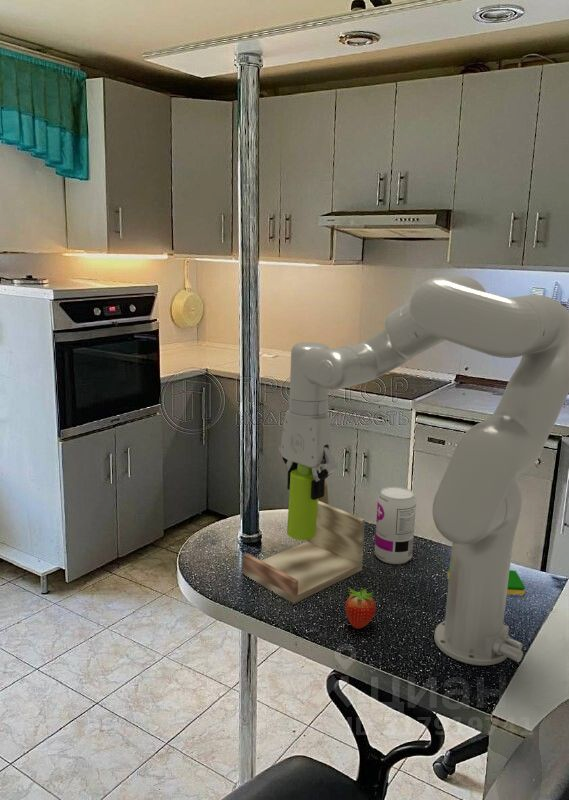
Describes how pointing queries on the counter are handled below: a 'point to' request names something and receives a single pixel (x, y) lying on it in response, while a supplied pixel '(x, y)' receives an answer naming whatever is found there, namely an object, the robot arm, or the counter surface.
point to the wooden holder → (313, 557)
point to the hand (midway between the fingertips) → (305, 492)
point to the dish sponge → (510, 583)
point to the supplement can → (395, 525)
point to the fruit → (360, 608)
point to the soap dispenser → (301, 505)
